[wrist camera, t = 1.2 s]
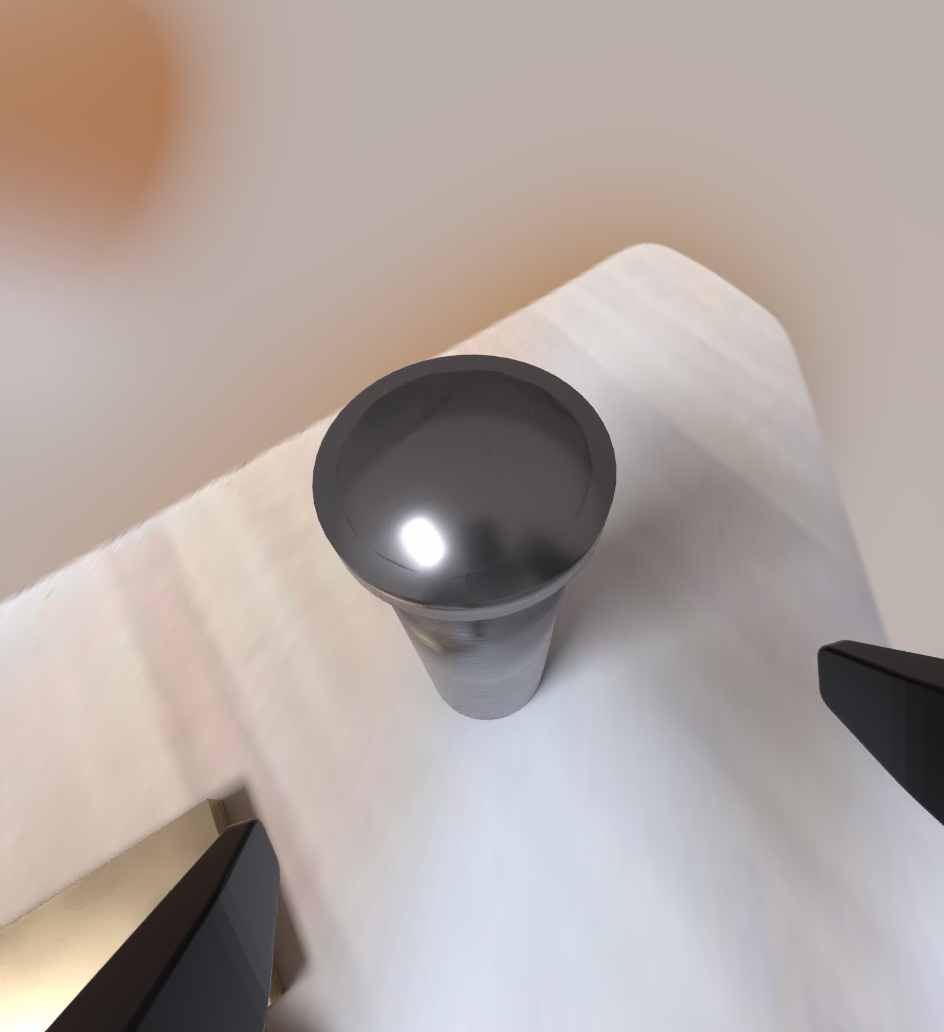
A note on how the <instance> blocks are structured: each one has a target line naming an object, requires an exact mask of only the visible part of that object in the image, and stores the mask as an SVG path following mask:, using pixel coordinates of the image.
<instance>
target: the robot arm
mask: <svg viewBox="0 0 944 1032" xmlns="http://www.w3.org/2000/svg"><path fill="white" fill-rule="evenodd" d="M818 674H819V689H820V694H821V697H822V699H823V701H824V702H825V704H826V705H827V706H828V708H829V709H830V710H831V711H832V712H833V713H834V714H835V715H836V716H837V717H838V719H839V720H840V721H841V722H842V723H843V724H844V725H845V726H846V727H847V728H848V729H849V730H850V731H851V733H852V734H853V735H854V736H855V737H856V738H857V739H858V740H859V741H860V742H861V743H862V744H863V746H864V747H865V748H866V749H867V750H868V751H869V752H870V753H871V754H872V755H873V756H874V757H875V759H876V760H877V761H878V762H879V763H880V764H881V765H882V766H883V767H884V768H885V769H886V770H887V771H888V773H889V774H890V775H891V776H892V777H893V778H894V779H895V780H896V781H897V782H898V783H899V784H900V785H901V786H902V787H903V788H904V789H905V790H906V791H907V792H908V793H909V794H910V795H911V796H912V797H913V798H914V799H915V800H916V801H917V802H918V803H919V804H920V805H921V806H922V807H924V808H925V809H926V810H927V811H928V812H929V813H930V814H931V815H932V816H933V817H934V818H936V819H937V820H938V821H939V822H940V823H941V824H942V825H943V826H944V659H940V658H936V657H931V656H925V655H921V654H915V653H910V652H905V651H900V650H895V649H890V648H885V647H880V646H875V645H870V644H865V643H860V642H855V641H850V640H841V641H838V642H834V643H831V644H828V645H824V646H822V647H821V648H820V649H819V651H818ZM279 881H280V869H279V863H278V859H277V856H276V854H275V852H274V849H273V847H272V844H271V842H270V840H269V837H268V835H267V833H266V830H265V828H264V825H263V824H262V822H261V821H260V820H259V819H257V818H251V819H248V820H245V821H241V822H238V823H235V824H232V825H230V826H228V827H227V828H226V829H225V830H224V831H223V832H222V833H221V834H220V836H219V837H218V838H217V839H216V840H215V841H214V842H213V843H212V845H211V846H210V847H209V848H208V849H207V850H206V851H205V852H204V853H203V855H202V856H201V857H200V858H199V859H198V860H197V861H196V862H195V864H194V865H193V866H192V867H191V868H190V869H189V870H188V871H187V873H186V874H185V875H184V876H183V877H182V878H181V879H180V880H179V881H178V883H177V884H176V885H175V886H174V887H173V888H172V889H171V890H170V892H169V893H168V894H167V895H166V896H165V897H164V898H163V899H162V900H161V902H160V903H159V904H158V905H157V906H156V907H155V908H154V909H153V911H152V912H151V913H150V914H149V915H148V916H147V917H146V918H145V920H144V921H143V922H142V923H141V924H140V925H139V926H138V927H137V928H136V930H135V931H134V932H133V933H132V934H131V935H130V936H129V937H128V939H127V940H126V941H125V942H124V943H123V944H122V945H121V946H120V947H119V949H118V950H117V951H116V952H115V953H114V954H113V955H112V956H111V958H110V959H109V960H108V961H107V962H106V963H105V964H104V965H103V967H102V968H101V969H100V970H99V971H98V972H97V973H96V974H95V975H94V977H93V978H92V979H91V980H90V981H89V982H88V983H87V984H86V986H85V987H84V988H83V989H82V990H81V991H80V992H79V993H78V994H77V996H76V997H75V998H74V999H73V1000H72V1001H71V1002H70V1003H69V1005H68V1006H67V1007H66V1008H65V1009H64V1010H63V1011H62V1012H61V1013H60V1015H59V1016H58V1017H57V1018H56V1019H55V1020H54V1021H53V1022H52V1024H51V1025H50V1026H49V1027H48V1028H47V1029H46V1030H45V1031H44V1032H264V1028H265V1022H266V1015H267V1009H268V1002H269V993H270V984H271V973H272V962H273V950H274V939H275V927H276V915H277V904H278V892H279Z"/></svg>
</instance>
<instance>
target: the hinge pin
mask: <svg viewBox="0 0 944 1032" xmlns="http://www.w3.org/2000/svg"><path fill="white" fill-rule="evenodd" d="M615 486H616V461H615V454H614V449H613V446H612V443H611V439H610V436H609V434H608V432H607V430H606V428H605V426H604V424H603V422H602V420H601V418H600V417H599V415H598V414H597V413H596V411H595V410H594V408H593V407H592V406H591V405H590V404H589V403H588V401H587V400H586V399H585V398H584V397H583V396H582V395H581V394H580V393H578V392H577V391H576V390H575V389H574V388H573V387H571V386H570V385H569V384H567V383H566V382H564V381H563V380H561V379H560V378H558V377H557V376H555V375H553V374H551V373H549V372H547V371H545V370H543V369H541V368H538V367H535V366H533V365H530V364H527V363H524V362H521V361H517V360H513V359H509V358H503V357H497V356H488V355H455V356H447V357H440V358H435V359H430V360H426V361H422V362H419V363H416V364H413V365H409V366H407V367H404V368H402V369H400V370H397V371H395V372H392V373H391V374H389V375H387V376H385V377H383V378H381V379H380V380H378V381H376V382H375V383H373V384H372V385H370V386H369V387H367V388H366V389H365V390H363V391H362V392H361V393H360V394H358V395H357V396H356V397H355V398H354V399H353V400H351V401H350V403H349V404H348V405H347V406H346V407H345V408H344V409H343V410H342V411H341V412H340V413H339V415H338V416H337V417H336V419H335V420H334V422H333V423H332V424H331V426H330V427H329V429H328V431H327V433H326V435H325V437H324V438H323V440H322V443H321V446H320V448H319V451H318V453H317V457H316V461H315V466H314V470H313V485H312V488H313V498H314V505H315V509H316V512H317V516H318V520H319V522H320V524H321V526H322V528H323V531H324V533H325V535H326V537H327V538H328V540H329V541H330V543H331V544H332V546H333V548H334V549H335V551H336V552H337V554H338V555H339V557H340V559H341V560H342V562H343V563H344V565H345V566H346V568H347V569H348V571H349V572H350V573H351V574H352V575H353V576H354V577H355V578H356V579H357V581H358V582H359V583H360V584H361V585H363V586H364V587H365V588H366V589H367V590H369V591H370V592H371V593H372V594H374V595H375V596H377V597H378V598H380V599H382V600H383V601H385V602H387V603H388V604H390V605H392V606H393V608H394V610H395V612H396V614H397V616H398V617H399V619H400V621H401V623H402V625H403V627H404V629H405V631H406V632H407V634H408V636H409V638H410V640H411V642H412V644H413V645H414V647H415V649H416V651H417V653H418V655H419V657H420V659H421V660H422V662H423V664H424V666H425V668H426V670H427V672H428V673H429V675H430V677H431V679H432V681H433V683H434V685H435V687H436V688H437V690H438V692H439V694H440V695H441V697H442V698H443V699H444V700H445V701H446V703H447V704H448V705H450V706H451V707H452V708H453V709H455V710H456V711H458V712H459V713H461V714H463V715H465V716H468V717H471V718H474V719H481V720H493V719H499V718H503V717H506V716H508V715H511V714H513V713H515V712H516V711H518V710H520V709H521V708H522V707H523V706H524V705H526V704H527V702H528V701H529V700H530V699H531V698H532V696H533V695H534V694H535V692H536V690H537V688H538V686H539V683H540V681H541V677H542V674H543V670H544V666H545V662H546V658H547V654H548V650H549V646H550V642H551V638H552V634H553V630H554V627H555V623H556V619H557V615H558V611H559V607H560V603H561V599H562V595H563V591H564V587H565V584H566V583H567V582H568V581H569V580H570V579H571V578H572V577H573V576H575V575H576V574H577V573H578V572H579V571H580V569H581V568H582V567H583V565H584V564H585V563H586V561H587V560H588V559H589V557H590V556H591V554H592V552H593V550H594V549H595V547H596V545H597V543H598V541H599V539H600V536H601V533H602V530H603V528H604V525H605V522H606V519H607V516H608V513H609V510H610V507H611V504H612V501H613V497H614V491H615Z"/></svg>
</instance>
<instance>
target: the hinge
mask: <svg viewBox="0 0 944 1032" xmlns="http://www.w3.org/2000/svg"><path fill="white" fill-rule="evenodd" d="M228 826H230V824H229V821H228V818H227V815H226V812H225V809H224V806H223V803H222V800H212V799H207V800H205V801H204V802H202V803H201V804H199V805H198V806H196V807H194V808H193V809H191V810H190V811H188V812H187V813H185V814H183V815H182V816H180V817H179V818H177V819H176V820H174V821H172V822H171V823H169V824H168V825H166V826H165V827H163V828H161V829H160V830H158V831H157V832H155V833H154V834H152V835H150V836H149V837H147V838H146V839H144V840H143V841H141V842H139V843H138V844H136V845H135V846H133V847H132V848H130V849H128V850H127V851H125V852H124V853H122V854H121V855H119V856H117V857H116V858H114V859H113V860H111V861H110V862H108V863H106V864H105V865H103V866H102V867H100V868H99V869H97V870H95V871H94V872H92V873H91V874H89V875H88V876H86V877H84V878H83V879H81V880H80V881H78V882H77V883H75V884H73V885H72V886H70V887H69V888H67V889H66V890H64V891H63V892H61V893H59V894H58V895H56V896H55V897H53V898H52V899H50V900H48V901H47V902H45V903H44V904H42V905H41V906H39V907H37V908H36V909H34V910H33V911H31V912H30V913H28V914H26V915H25V916H23V917H22V918H20V919H19V920H17V921H15V922H14V923H12V924H11V925H9V926H8V927H6V928H4V929H3V930H1V931H0V1032H44V1031H45V1030H46V1029H47V1028H48V1027H49V1026H50V1025H51V1024H52V1022H53V1021H54V1020H55V1019H56V1018H57V1017H58V1016H59V1015H60V1013H61V1012H62V1011H63V1010H64V1009H65V1008H66V1007H67V1006H68V1005H69V1003H70V1002H71V1001H72V1000H73V999H74V998H75V997H76V996H77V994H78V993H79V992H80V991H81V990H82V989H83V988H84V987H85V986H86V984H87V983H88V982H89V981H90V980H91V979H92V978H93V977H94V975H95V974H96V973H97V972H98V971H99V970H100V969H101V968H102V967H103V965H104V964H105V963H106V962H107V961H108V960H109V959H110V958H111V956H112V955H113V954H114V953H115V952H116V951H117V950H118V949H119V947H120V946H121V945H122V944H123V943H124V942H125V941H126V940H127V939H128V937H129V936H130V935H131V934H132V933H133V932H134V931H135V930H136V928H137V927H138V926H139V925H140V924H141V923H142V922H143V921H144V920H145V918H146V917H147V916H148V915H149V914H150V913H151V912H152V911H153V909H154V908H155V907H156V906H157V905H158V904H159V903H160V902H161V900H162V899H163V898H164V897H165V896H166V895H167V894H168V893H169V892H170V890H171V889H172V888H173V887H174V886H175V885H176V884H177V883H178V881H179V880H180V879H181V878H182V877H183V876H184V875H185V874H186V873H187V871H188V870H189V869H190V868H191V867H192V866H193V865H194V864H195V862H196V861H197V860H198V859H199V858H200V857H201V856H202V855H203V853H204V852H205V851H206V850H207V849H208V848H209V847H210V846H211V845H212V843H213V842H214V841H215V840H216V839H217V838H218V837H219V836H220V834H221V833H222V832H223V831H224V830H225V829H226V828H227V827H228ZM283 994H284V991H283V988H282V985H281V982H280V979H279V976H278V973H277V970H276V967H275V964H274V960H273V962H272V973H271V984H270V993H269V1002H268V1006H269V1005H271V1004H272V1003H273V1002H275V1001H276V1000H277V999H278V998H280V997H281V996H282V995H283Z"/></svg>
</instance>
